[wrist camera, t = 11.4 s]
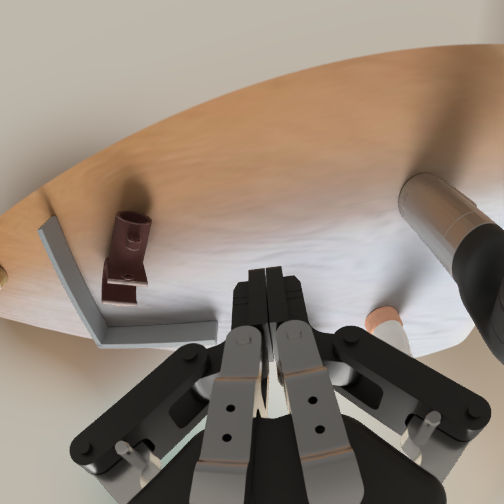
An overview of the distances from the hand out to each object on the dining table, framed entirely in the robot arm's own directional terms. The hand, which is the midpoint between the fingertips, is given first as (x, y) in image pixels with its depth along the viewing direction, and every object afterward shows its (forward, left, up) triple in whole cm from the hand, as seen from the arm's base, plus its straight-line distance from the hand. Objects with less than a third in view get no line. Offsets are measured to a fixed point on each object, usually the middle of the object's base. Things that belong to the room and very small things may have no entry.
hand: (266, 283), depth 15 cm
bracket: (+23, +16, -32) cm, 42 cm away
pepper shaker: (-21, +38, -32) cm, 54 cm away
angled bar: (+24, +20, -32) cm, 45 cm away
